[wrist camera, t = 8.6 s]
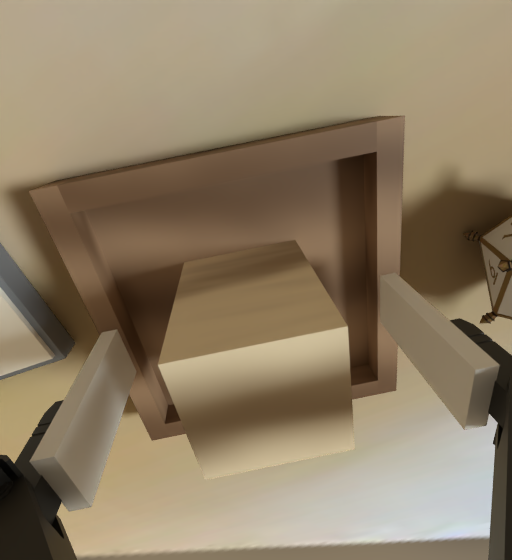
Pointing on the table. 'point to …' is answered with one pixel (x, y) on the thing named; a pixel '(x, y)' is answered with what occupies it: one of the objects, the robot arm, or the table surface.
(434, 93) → the table surface
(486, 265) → the game die
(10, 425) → the table surface
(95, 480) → the robot arm
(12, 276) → the white grey flat slab
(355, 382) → the walnut tray
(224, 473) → the beech block
